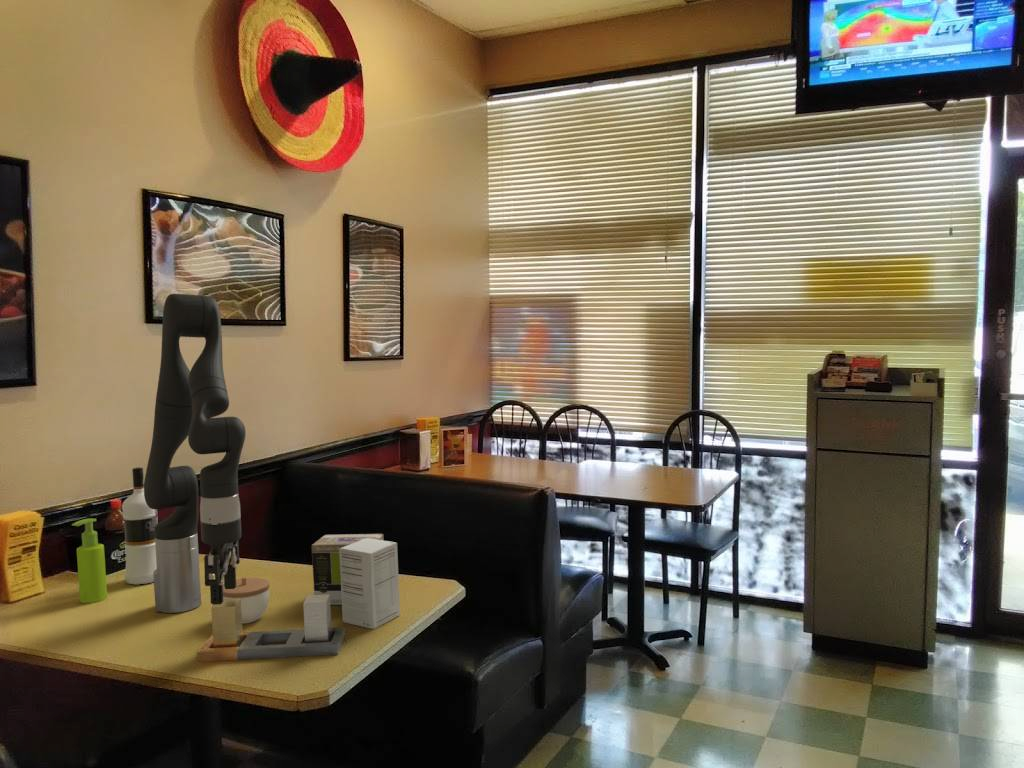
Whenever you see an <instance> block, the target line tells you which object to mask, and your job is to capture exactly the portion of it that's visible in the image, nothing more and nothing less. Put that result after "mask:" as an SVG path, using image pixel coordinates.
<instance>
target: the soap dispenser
mask: <svg viewBox="0 0 1024 768" xmlns="http://www.w3.org/2000/svg"><path fill="white" fill-rule="evenodd" d="M94 522H97V518H92V517H90V518H84V519H81V520H77V521H75V522H73V523H72V524H71V526H72V527H80V526H82V525H84V531H83V532H82V533H81V546H79V547H77V548H76V559H77V560H76V561H77V573H78V575H77V577H78V590H79V591H78V592H79V602H80V603H81V602H82V603H81V604H93V603H94V602H95V603H97V602H98V601H99V602H101V600H102V601H105V600H106V599H107V598H108V588H107V585H108V584H107V573H106V570H107V569H106V557H105V545H104V543H103V544H102V543H99V539H98V531H96V530H94V524H93V523H94ZM95 603H94V604H95Z"/></svg>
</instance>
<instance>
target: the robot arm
mask: <svg viewBox="0 0 1024 768" xmlns="http://www.w3.org/2000/svg"><path fill="white" fill-rule="evenodd" d="M221 319H222V318H221V310H220V307H219V303H218V301H217V300H216V299H215V298H214V297H212V296H209V295H199V294H186V293H185V294H183V293H170V294H168V295H167V297H166V298H165V301H164V304H163V309H162V329H161V353H160V365H159V373H158V382H157V388H156V397H155V406H154V415H153V417H154V418H153V428H152V429H153V430H152V437H151V438H152V439H151V446H150V451H149V455H148V461H147V466H146V471H145V474H144V475H145V476H144V497H145V501H146V504H147V505H148V507H150V508H151V509H155V510H157V511H158V510H164V509H171V508H174V510H173V511H172V513H171V514H169V516H167V517H166V518H164V519H163V520H161V521H158V524H157V525H156V526H155V528H154V534H155V550H156V567H157V569H156V570H155V571H154V572H153V576H154V582H153V589H154V590H153V591H154V606H155V612H161V613H166V614H174V613H175V614H176V613H183V612H188V611H191V610H193V609H197V608H198V607H200V606H201V604H202V593H201V577H200V575H201V574H200V571H201V570H200V559H199V558H200V554H199V539H198V538H199V537H198V523H199V515H200V540H201V543H203V544H205V545H209V546H210V551H209V554H205V555H204V557H203V561H204V563H203V564H204V566H203V567H204V569H203V570H204V586H205V587H209V588H210V589H209V591H210V592H209V593H210V604H211V605H212V606H213V605H217V604H222V603H223V584H224V587H225V589H235V587H236V580H237V569H238V565H239V564H240V562H241V559H240V545H239V540H240V539H241V538H242V520H241V514H242V513H241V501H240V497H239V477H238V476H239V474H238V472H239V464H240V459H241V455H242V452H243V448H244V446H245V445H244V444H245V440H246V427H245V424H244V422H243V421H242V420H241V419H240V418H239V417H237V416H224V417H223V416H221V417H220V415H223V414H224V413H225V412H227V411H228V409H229V406H230V400H229V394H228V389H227V385H226V379H225V374H224V365H223V337H222V320H221ZM183 337H184V338H199V339H200V338H201V339H202V338H204V340H205V345H204V347H203V349H202V351H201V353H200V355H199V356H198V358H197V359H196V360H195V361H194V363H193V365H192V367H191V369H190V368H189V367H188V366H187V363H186V361H185V359H184V357H183V355H182V352H181V347H180V338H183ZM218 416H219V417H218ZM186 439H187V443H188V445H189V447H190V449H191V450H192V451H193V452H194V453H195V454H197V455H211V454H213V455H214V454H222V453H223V454H224V453H225V454H224V457H223V458H222V459H221V460H220V461H218V462H215V463H212V464H208V465H205V466H204V467H202V468H201V470H200V473H199V482H198V478H197V477H198V476H197V474H196V471H195V470H194V469H193V468H192V467H191V466H190V465H179V466H172V467H171V464H172V460H173V458H174V456H175V454H176V453H177V451H178V449H179V448H180V447H181V445H182V444H183V443H184V442H185V440H186ZM199 485H200V488H199ZM199 490H200V502H199ZM199 503H200V504H199Z"/></svg>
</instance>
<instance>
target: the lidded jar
mask: <svg viewBox="0 0 1024 768" xmlns="http://www.w3.org/2000/svg"><path fill="white" fill-rule="evenodd" d="M222 585H223V599H241V612H242V625H243V624H244V625H245V624H249V623H253V622H257V621H258V620H259V619H260V618H261V616H262V615H263V614H264V613H265V611H266V610H267V607H268V604H269V600H270V581H269V580H268V579H266V578H262V577H246V576H245V577H244V576H243V577H241V578H236V587H235V589H225V587H224V583H223V584H222Z"/></svg>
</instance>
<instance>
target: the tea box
mask: <svg viewBox="0 0 1024 768" xmlns="http://www.w3.org/2000/svg"><path fill="white" fill-rule="evenodd" d="M365 538H371V539H377V540H383V541H385V540H384V534H383V533H366V534H365V533H358V534H357V533H356V534H355V533H353V534H352V533H350V534H348V533H346V534H325V535H323V536H322V537H320V538H319V539H318V540H316V541H315V542H314V543H313V544H311V558H312V561H311V562H312V563H311V564H312V577H313V578H312V579H313V580H312V581H313V595H327V594H330V606H332V605H333V606H335V605H336V606H342V595H341V575H340V556H339V549H340V548H342V547H345V546H347V545H350V544H352V543H355V542H358V541H360V540H363V539H365Z"/></svg>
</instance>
